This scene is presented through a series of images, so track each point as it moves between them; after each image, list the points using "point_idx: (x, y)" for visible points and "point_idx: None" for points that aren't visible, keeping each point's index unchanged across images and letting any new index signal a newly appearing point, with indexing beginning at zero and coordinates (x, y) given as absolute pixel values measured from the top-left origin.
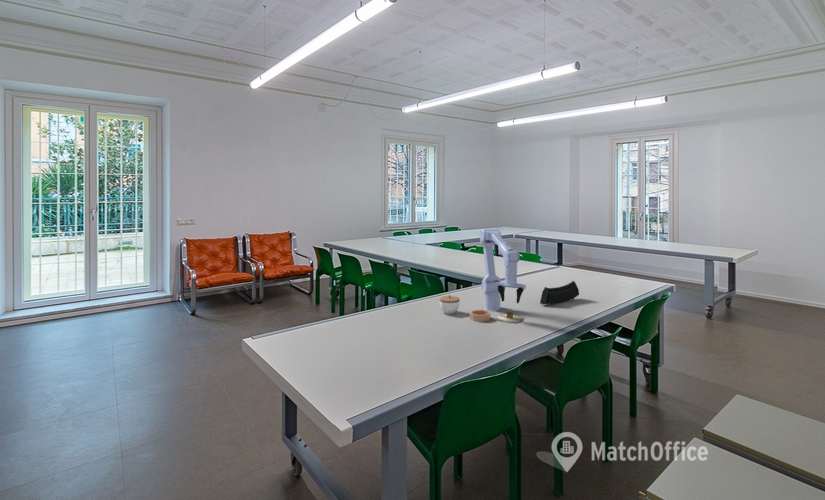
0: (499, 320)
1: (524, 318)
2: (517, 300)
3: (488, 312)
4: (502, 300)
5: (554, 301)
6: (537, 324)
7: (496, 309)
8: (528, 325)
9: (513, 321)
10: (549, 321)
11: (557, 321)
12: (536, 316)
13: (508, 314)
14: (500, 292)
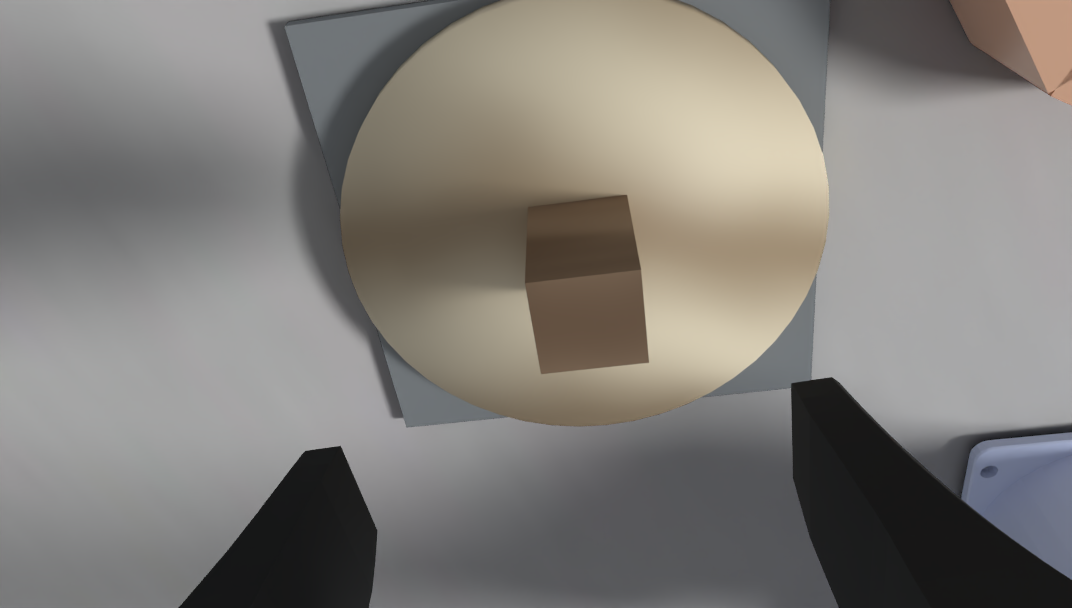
0: (710, 8)
1: (398, 398)
2: (280, 502)
3: (1070, 27)
4: (813, 394)
5: None
6: (68, 276)
7: (987, 515)
8: (122, 130)
9: (395, 74)
10: (72, 490)
11: (7, 541)
12: None
13: (590, 237)
14: (1027, 603)
